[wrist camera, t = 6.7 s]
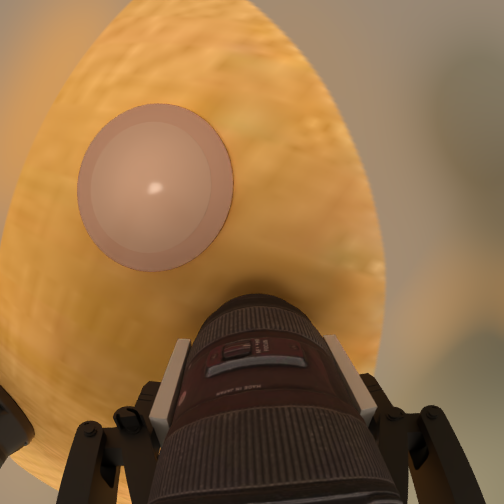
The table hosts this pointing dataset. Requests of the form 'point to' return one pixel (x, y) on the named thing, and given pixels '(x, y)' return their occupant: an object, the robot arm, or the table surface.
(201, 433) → the camera lens
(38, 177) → the table surface
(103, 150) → the plate
